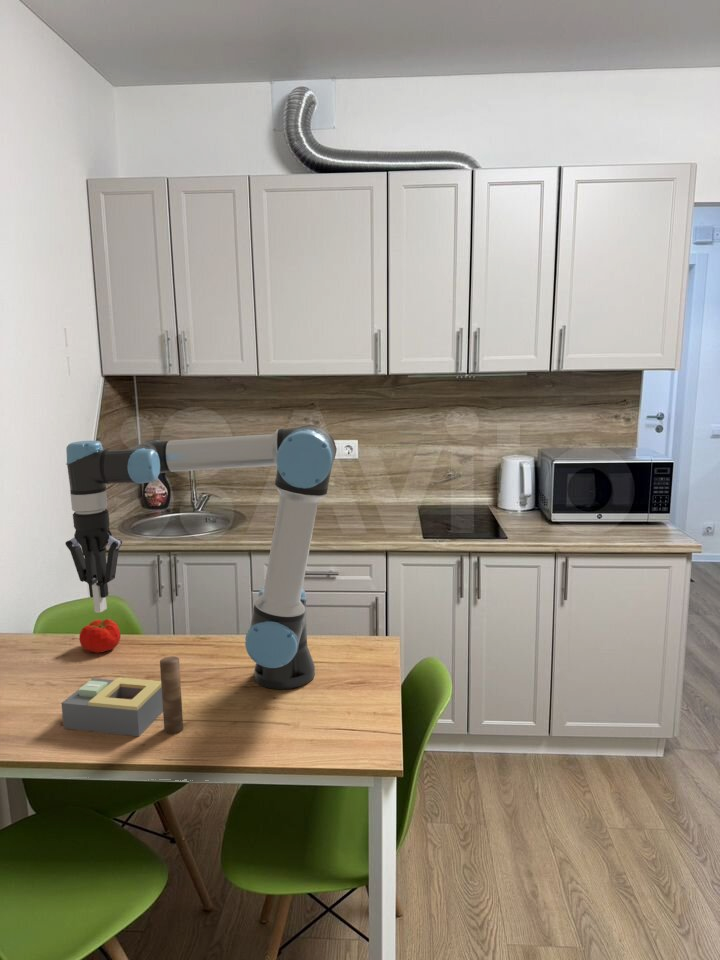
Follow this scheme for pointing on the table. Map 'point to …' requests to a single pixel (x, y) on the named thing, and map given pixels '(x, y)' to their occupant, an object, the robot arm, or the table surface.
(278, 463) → the robot arm
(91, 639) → the tomato
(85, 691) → the on button
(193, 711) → the table surface
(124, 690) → the breaker box
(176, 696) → the rounded rod
